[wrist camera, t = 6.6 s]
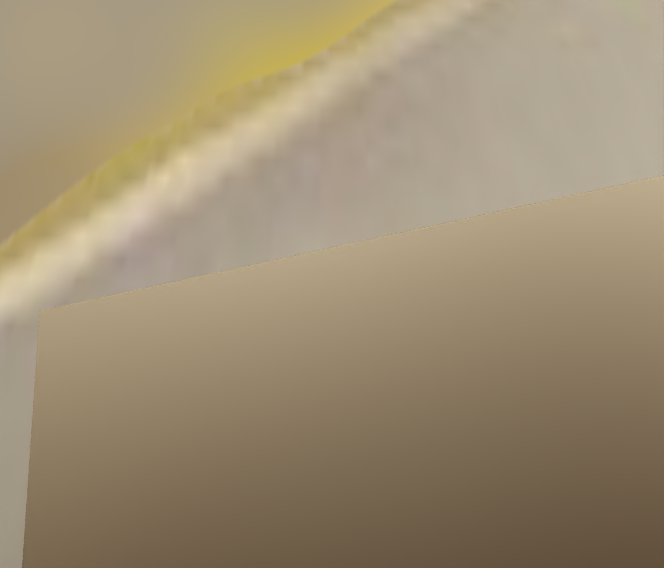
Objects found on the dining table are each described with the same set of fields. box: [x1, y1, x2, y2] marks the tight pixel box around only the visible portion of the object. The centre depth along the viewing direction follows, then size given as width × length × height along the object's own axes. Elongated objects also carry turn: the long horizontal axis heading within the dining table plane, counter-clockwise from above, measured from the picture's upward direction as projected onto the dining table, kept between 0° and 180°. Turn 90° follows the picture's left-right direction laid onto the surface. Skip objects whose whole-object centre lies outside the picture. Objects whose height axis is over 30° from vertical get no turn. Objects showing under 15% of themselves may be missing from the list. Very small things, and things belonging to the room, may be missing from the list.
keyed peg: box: [22, 175, 664, 568], centre depth 8 cm, size 6×4×13 cm
